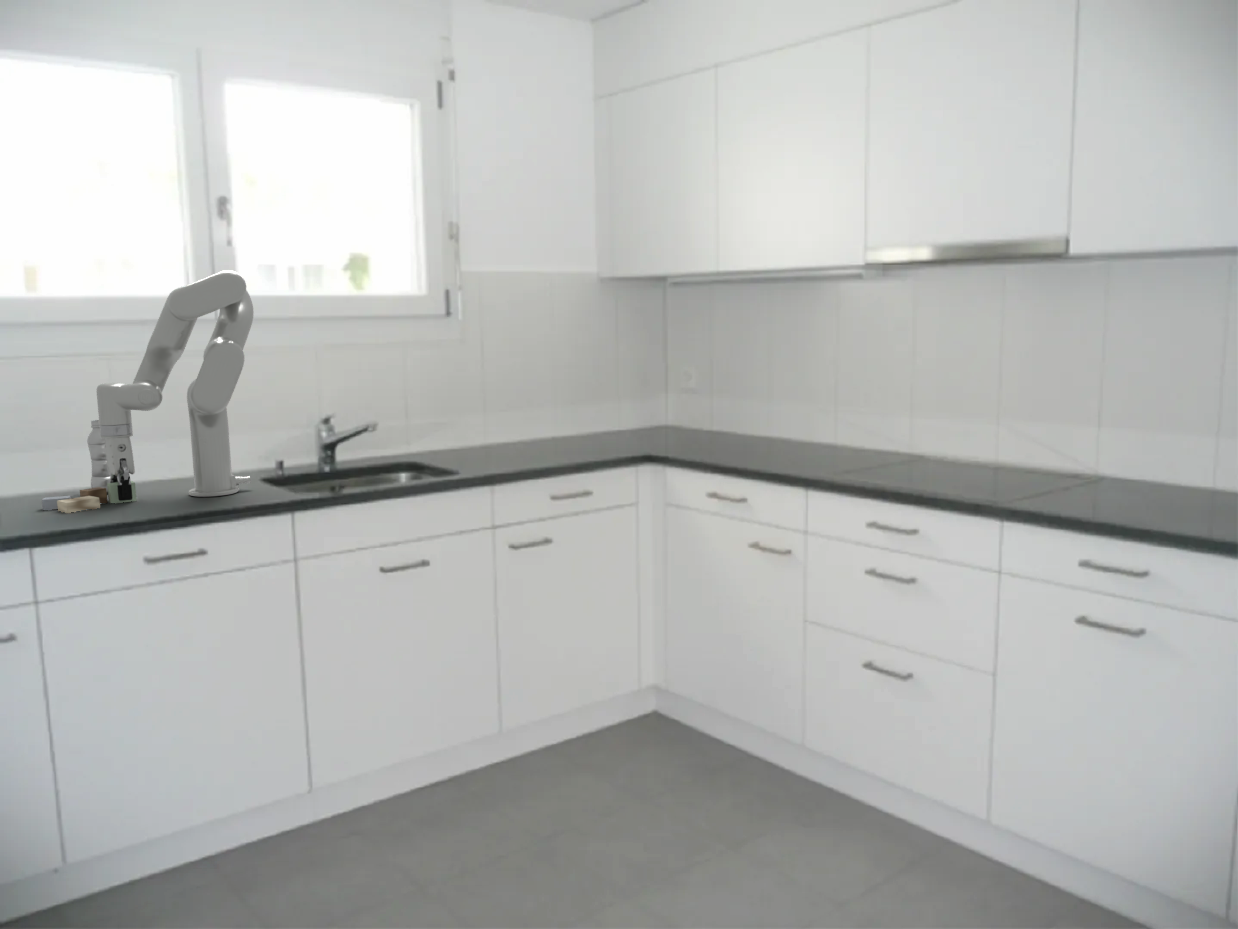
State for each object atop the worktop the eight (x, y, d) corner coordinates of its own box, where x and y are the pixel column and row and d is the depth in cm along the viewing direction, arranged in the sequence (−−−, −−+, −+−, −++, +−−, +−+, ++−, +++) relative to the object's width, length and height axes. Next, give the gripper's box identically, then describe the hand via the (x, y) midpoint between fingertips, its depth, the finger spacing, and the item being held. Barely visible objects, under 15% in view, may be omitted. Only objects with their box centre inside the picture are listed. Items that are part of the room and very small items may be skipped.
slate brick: (72, 507, 255) (70, 495, 255) (70, 509, 252) (68, 497, 252) (45, 509, 253) (44, 497, 253) (43, 511, 250) (41, 499, 249)
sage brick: (133, 499, 264) (132, 480, 264) (136, 501, 262) (135, 482, 261) (108, 502, 261) (107, 483, 260) (111, 504, 258) (109, 485, 257)
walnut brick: (100, 502, 261) (98, 487, 260) (107, 503, 259) (106, 488, 259) (81, 505, 257) (79, 490, 256) (88, 506, 255) (87, 491, 254)
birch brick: (90, 507, 255) (89, 495, 255) (100, 509, 252) (99, 497, 252) (58, 512, 249) (56, 500, 248) (67, 514, 246) (66, 502, 245)
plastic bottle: (107, 490, 278) (100, 418, 275) (123, 492, 275) (117, 419, 272) (86, 494, 272) (79, 421, 269) (102, 495, 269) (96, 422, 266)
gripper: (139, 432, 254) (145, 500, 256) (124, 427, 267) (130, 491, 270) (107, 435, 249) (113, 504, 252) (93, 429, 263) (99, 495, 265)
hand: (121, 497), depth 261 cm, fingers open, 7 cm apart
